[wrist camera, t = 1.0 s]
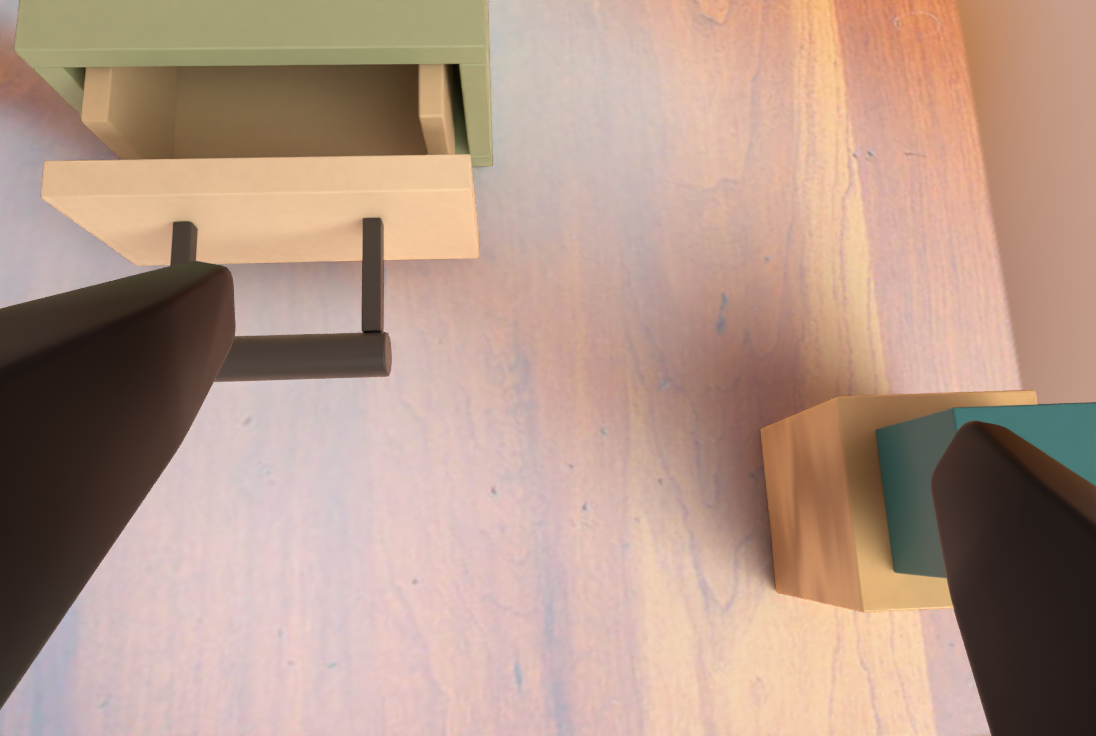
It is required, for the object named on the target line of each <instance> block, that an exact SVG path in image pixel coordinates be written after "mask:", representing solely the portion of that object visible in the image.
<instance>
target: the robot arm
mask: <svg viewBox="0 0 1096 736" xmlns="http://www.w3.org/2000/svg"><path fill="white" fill-rule="evenodd" d="M234 336H235V307H234V286H233V278H232V275H231V272H230V271H229V270H228V269H227V268H226V267H223V266H220V265H215V264H210V263H205V262H200V261H190V262H186V263H182V264H178V265H174V266H170V267H166V268H162V269H158V270H154V271H150V272H146V273H142V274H138V275H134V276H129V277H125V278H121V279H117V280H113V281H109V282H105V283H101V284H97V285H93V286H89V287H85V288H81V289H77V290H73V291H69V292H65V293H61V294H57V295H53V296H49V297H45V298H41V299H37V300H33V301H29V302H25V303H21V304H17V305H13V306H9V307H5V308H1V309H0V710H1V708H2V707H3V705H4V704H5V702H6V701H7V699H8V698H9V696H10V695H11V693H12V692H13V690H14V689H15V688H16V686H17V685H18V683H19V682H20V680H21V679H22V677H23V676H24V674H25V673H26V671H27V670H28V668H29V667H30V666H31V664H32V663H33V661H34V660H35V658H36V657H37V655H38V654H39V652H40V651H41V649H42V648H43V646H44V645H45V644H46V642H47V641H48V639H49V638H50V636H51V635H52V633H53V632H54V630H55V629H56V627H57V626H58V625H59V623H60V622H61V620H62V619H63V617H64V616H65V614H66V613H67V611H68V610H69V608H70V607H71V605H72V604H73V603H74V601H75V600H76V598H77V597H78V595H79V594H80V592H81V591H82V589H83V588H84V586H85V585H86V583H87V582H88V581H89V579H90V578H91V576H92V575H93V573H94V572H95V570H96V569H97V567H98V566H99V564H100V563H101V562H102V560H103V559H104V557H105V556H106V554H107V553H108V551H109V550H110V548H111V547H112V545H113V544H114V542H115V541H116V540H117V538H118V537H119V535H120V534H121V532H122V531H123V529H124V528H125V526H126V525H127V523H128V522H129V520H130V519H131V518H132V516H133V515H134V513H135V512H136V510H137V509H138V507H139V506H140V504H141V503H142V501H143V500H144V498H145V497H146V496H147V494H148V493H149V491H150V490H151V488H152V487H153V485H154V484H155V482H156V481H157V479H158V478H159V477H160V475H161V474H162V472H163V471H164V469H165V468H166V466H167V465H168V463H169V462H170V460H171V459H172V457H173V456H174V454H175V453H176V451H177V450H178V448H179V446H180V445H181V443H182V442H183V440H184V438H185V436H186V434H187V433H188V431H189V429H190V427H191V425H192V423H193V421H194V419H195V417H196V415H197V413H198V411H199V409H200V407H201V406H202V404H203V402H204V400H205V398H206V396H207V394H208V392H209V390H210V388H211V386H212V384H213V382H214V380H215V378H216V376H217V374H218V372H219V370H220V368H221V366H222V364H223V362H224V361H225V359H226V357H227V355H228V353H229V351H230V349H231V347H232V344H233V341H234ZM931 494H932V500H933V505H934V511H935V517H936V522H937V528H938V533H939V539H940V545H941V550H942V556H943V562H944V567H945V573H946V578H947V583H948V588H949V592H950V597H951V601H952V604H953V608H954V612H955V616H956V619H957V622H958V626H959V629H960V632H961V636H962V639H963V642H964V646H965V649H966V652H967V656H968V659H969V662H970V666H971V669H972V672H973V676H974V679H975V682H976V686H977V689H978V692H979V696H980V699H981V702H982V706H983V709H984V713H985V716H986V719H987V723H988V726H989V729H990V733H991V736H1096V486H1095V485H1093V484H1092V483H1090V482H1089V481H1087V480H1086V479H1084V478H1083V477H1081V476H1079V475H1078V474H1076V473H1075V472H1073V471H1072V470H1070V469H1069V468H1067V467H1066V466H1064V465H1063V464H1061V463H1060V462H1058V461H1057V460H1055V459H1053V458H1052V457H1050V456H1049V455H1047V454H1046V453H1044V452H1043V451H1041V450H1040V449H1038V448H1037V447H1035V446H1034V445H1032V444H1031V443H1029V442H1027V441H1026V440H1024V439H1023V438H1021V437H1020V436H1018V435H1017V434H1015V433H1014V432H1012V431H1011V430H1009V429H1008V428H1006V427H1003V426H1000V425H996V424H991V423H986V422H981V421H974V420H972V421H969V422H966V423H964V424H963V425H962V426H961V427H960V428H959V430H958V431H957V433H956V434H955V436H954V438H953V439H952V441H951V443H950V444H949V446H948V448H947V449H946V451H945V452H944V454H943V456H942V457H941V459H940V461H939V462H938V464H937V466H936V467H935V469H934V471H933V474H932V478H931Z"/></svg>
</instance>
